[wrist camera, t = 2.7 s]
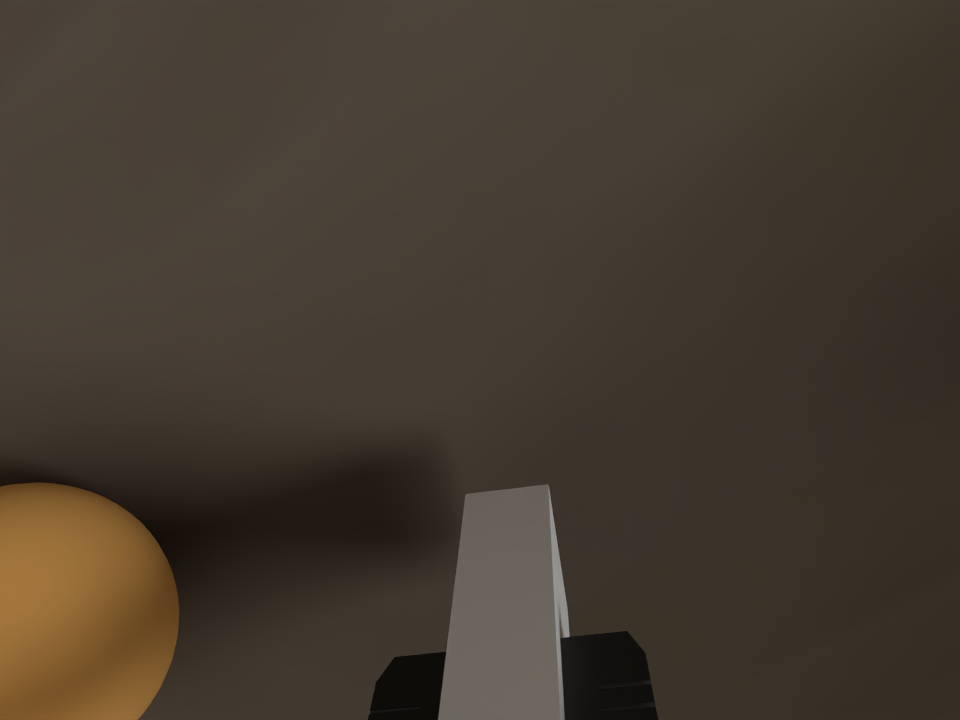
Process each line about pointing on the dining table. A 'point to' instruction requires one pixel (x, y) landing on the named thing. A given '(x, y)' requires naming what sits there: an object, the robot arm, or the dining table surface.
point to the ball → (80, 607)
